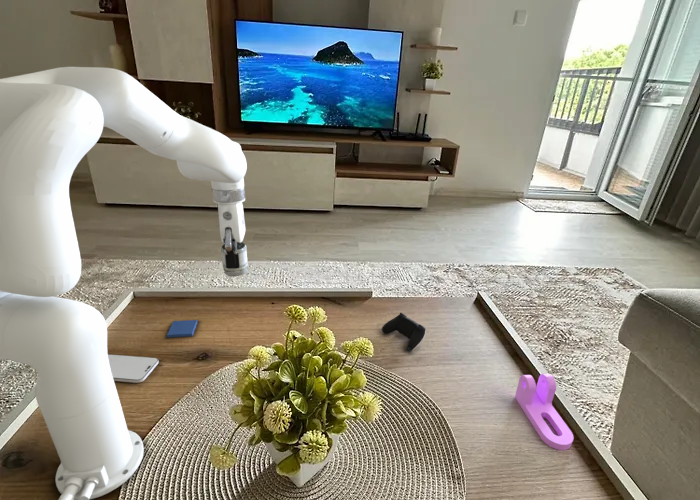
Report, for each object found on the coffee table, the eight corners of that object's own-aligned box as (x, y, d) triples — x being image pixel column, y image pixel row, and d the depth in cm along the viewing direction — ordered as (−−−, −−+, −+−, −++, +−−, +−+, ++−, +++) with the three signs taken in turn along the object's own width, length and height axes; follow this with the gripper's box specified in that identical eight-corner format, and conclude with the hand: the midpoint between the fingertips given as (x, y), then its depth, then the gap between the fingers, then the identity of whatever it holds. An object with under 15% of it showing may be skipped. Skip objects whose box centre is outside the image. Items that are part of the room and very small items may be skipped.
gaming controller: (417, 356, 98) (432, 333, 98) (409, 351, 94) (425, 326, 95) (386, 335, 105) (401, 313, 106) (378, 329, 102) (394, 307, 103)
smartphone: (98, 353, 91) (160, 357, 90) (100, 357, 92) (161, 361, 90) (75, 375, 85) (141, 380, 83) (76, 379, 85) (142, 384, 83)
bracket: (514, 397, 83) (521, 371, 80) (539, 395, 84) (547, 369, 81) (549, 451, 71) (558, 422, 69) (578, 449, 72) (588, 420, 69)
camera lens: (223, 267, 106) (220, 240, 103) (247, 265, 107) (245, 238, 104) (223, 278, 100) (220, 249, 97) (248, 276, 102) (246, 247, 99)
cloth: (192, 336, 99) (192, 333, 99) (167, 337, 98) (166, 335, 98) (197, 322, 105) (197, 319, 104) (173, 323, 104) (173, 321, 103)
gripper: (240, 204, 88) (246, 276, 95) (248, 185, 104) (252, 248, 111) (205, 205, 87) (213, 277, 94) (218, 185, 103) (225, 249, 110)
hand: (234, 261), depth 102 cm, fingers closed on camera lens, 6 cm apart
